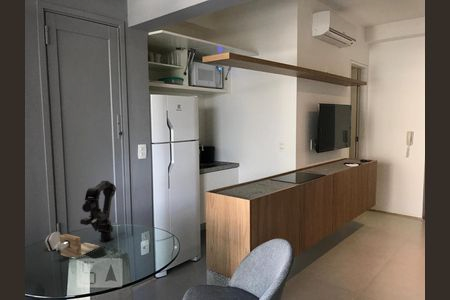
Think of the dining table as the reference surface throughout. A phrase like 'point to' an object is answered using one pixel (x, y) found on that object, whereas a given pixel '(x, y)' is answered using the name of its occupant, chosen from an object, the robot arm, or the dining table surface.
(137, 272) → the dining table surface
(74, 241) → the bearing stand
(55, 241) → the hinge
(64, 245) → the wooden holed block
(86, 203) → the robot arm
